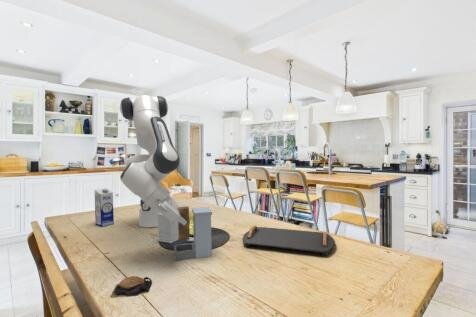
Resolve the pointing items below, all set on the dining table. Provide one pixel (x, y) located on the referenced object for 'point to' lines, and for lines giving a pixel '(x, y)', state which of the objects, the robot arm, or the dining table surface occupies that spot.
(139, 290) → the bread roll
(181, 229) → the walnut block
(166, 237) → the supplement box
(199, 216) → the pale blue tower
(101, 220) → the milk carton
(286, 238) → the serving board
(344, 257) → the dining table surface
